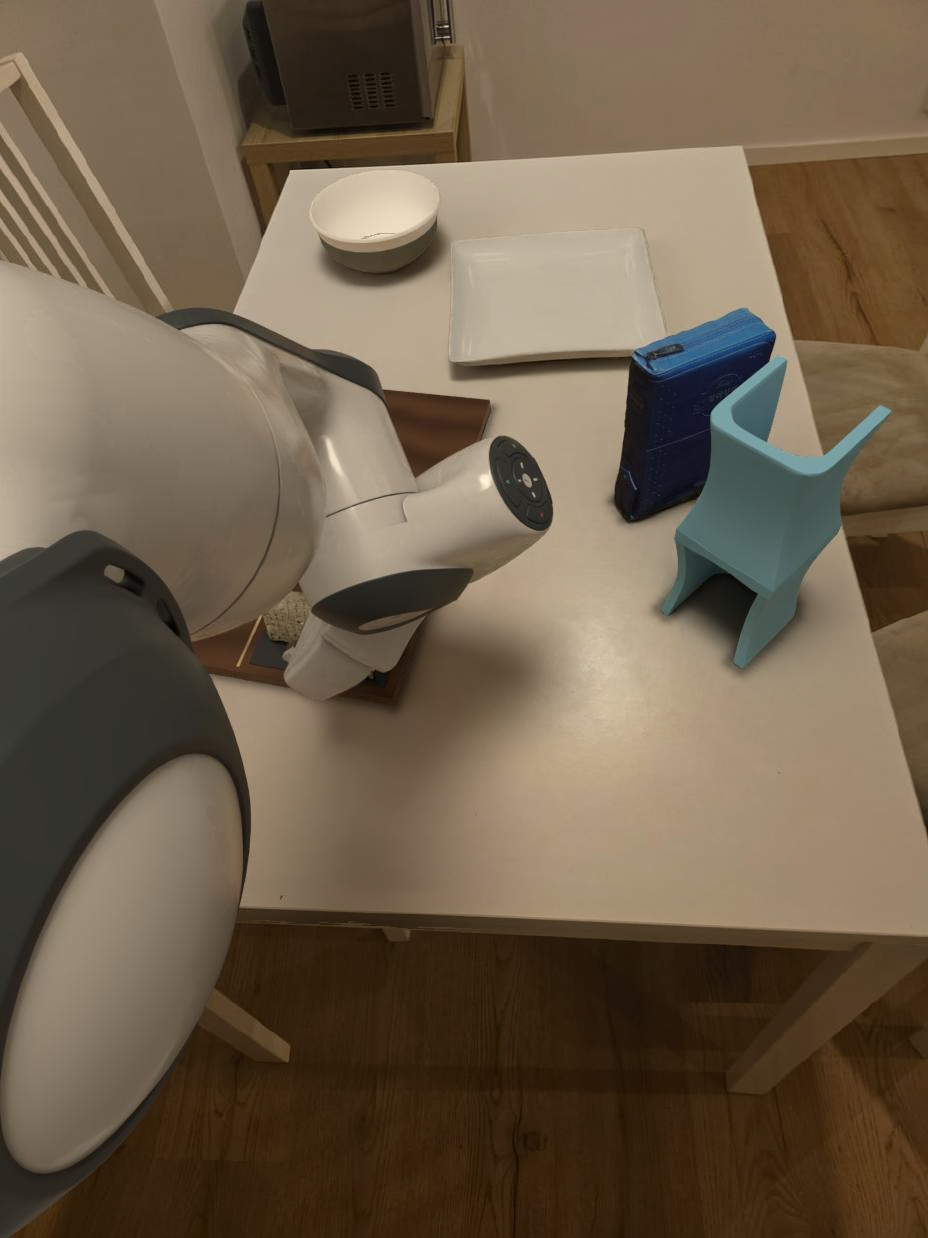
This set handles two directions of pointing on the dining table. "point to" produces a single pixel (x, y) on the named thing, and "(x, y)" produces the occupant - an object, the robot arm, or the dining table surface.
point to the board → (247, 650)
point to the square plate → (552, 297)
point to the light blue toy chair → (762, 508)
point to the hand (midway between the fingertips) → (309, 613)
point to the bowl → (377, 219)
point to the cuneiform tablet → (291, 620)
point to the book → (682, 407)
